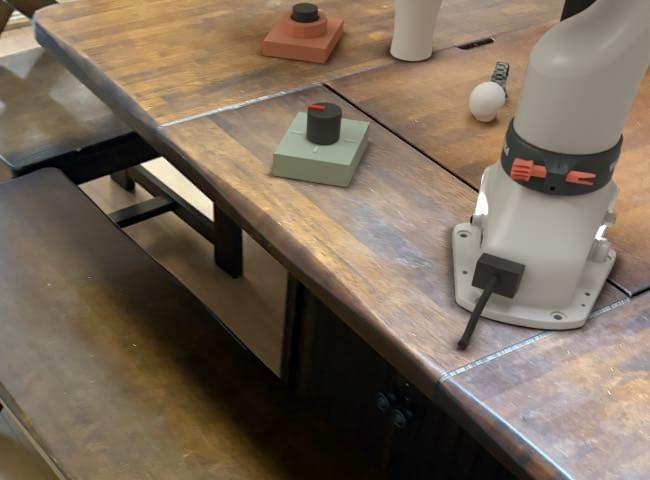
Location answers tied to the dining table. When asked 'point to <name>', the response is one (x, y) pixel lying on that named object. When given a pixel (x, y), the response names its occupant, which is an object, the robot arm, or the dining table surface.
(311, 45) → the button base
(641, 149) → the dining table surface
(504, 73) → the wristwatch
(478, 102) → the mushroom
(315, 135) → the dial
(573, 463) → the dining table surface
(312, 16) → the dark grey puck
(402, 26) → the cup
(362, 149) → the panel
